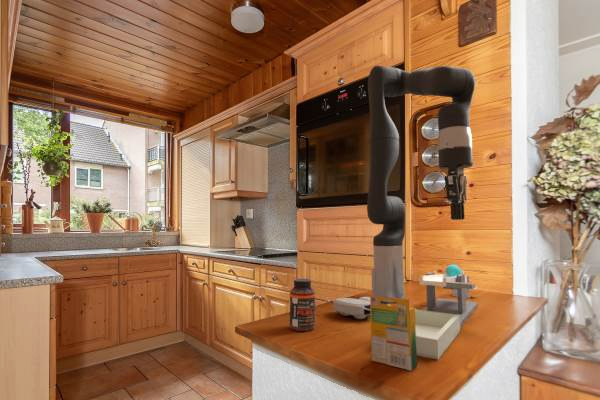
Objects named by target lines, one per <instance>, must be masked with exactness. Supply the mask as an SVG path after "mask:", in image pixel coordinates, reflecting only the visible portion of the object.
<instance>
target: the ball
mask: <svg viewBox="0 0 600 400" xmlns="http://www.w3.org/2000/svg"><path fill="white" fill-rule="evenodd" d="M461 270H462V269H461V268H460V267H459V266H458V265H456V264H450V265H448V266H447V267H446V269H445V274H447V275H448V276H449V277H454V276H458V275H459V274H461Z"/></svg>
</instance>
